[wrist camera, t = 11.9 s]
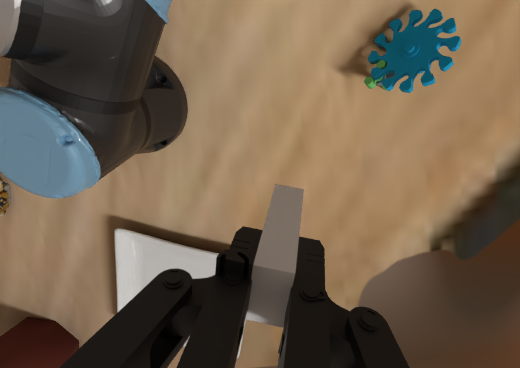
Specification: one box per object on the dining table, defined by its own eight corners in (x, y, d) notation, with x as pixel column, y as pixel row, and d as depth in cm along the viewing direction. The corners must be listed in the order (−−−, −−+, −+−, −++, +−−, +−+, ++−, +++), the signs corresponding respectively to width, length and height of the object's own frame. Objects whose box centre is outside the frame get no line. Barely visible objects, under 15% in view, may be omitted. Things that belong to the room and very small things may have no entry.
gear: (433, -13, 37) (477, 51, 33) (443, 17, 42) (482, 76, 38) (347, 48, 43) (376, 109, 39) (364, 69, 48) (391, 125, 44)
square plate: (125, 316, 75) (116, 330, 71) (124, 216, 62) (112, 228, 59) (241, 347, 73) (237, 363, 69) (263, 251, 60) (259, 265, 57)
